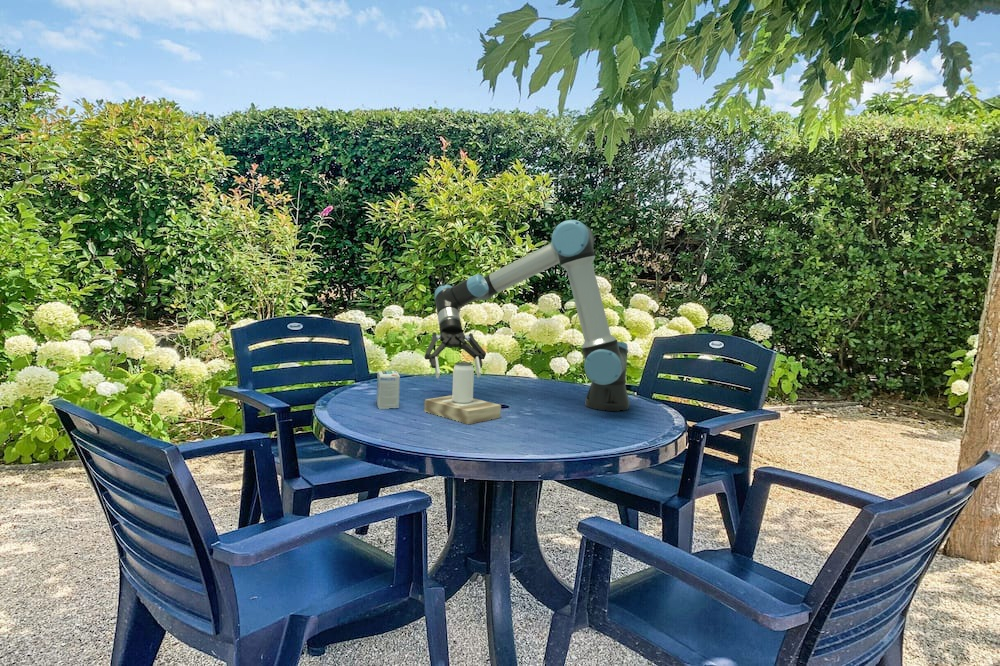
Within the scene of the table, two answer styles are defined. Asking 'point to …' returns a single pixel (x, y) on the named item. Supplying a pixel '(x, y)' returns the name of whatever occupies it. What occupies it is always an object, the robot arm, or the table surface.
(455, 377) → the can
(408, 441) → the table surface
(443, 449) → the table surface
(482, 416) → the block
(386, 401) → the light bulb box
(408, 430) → the table surface
